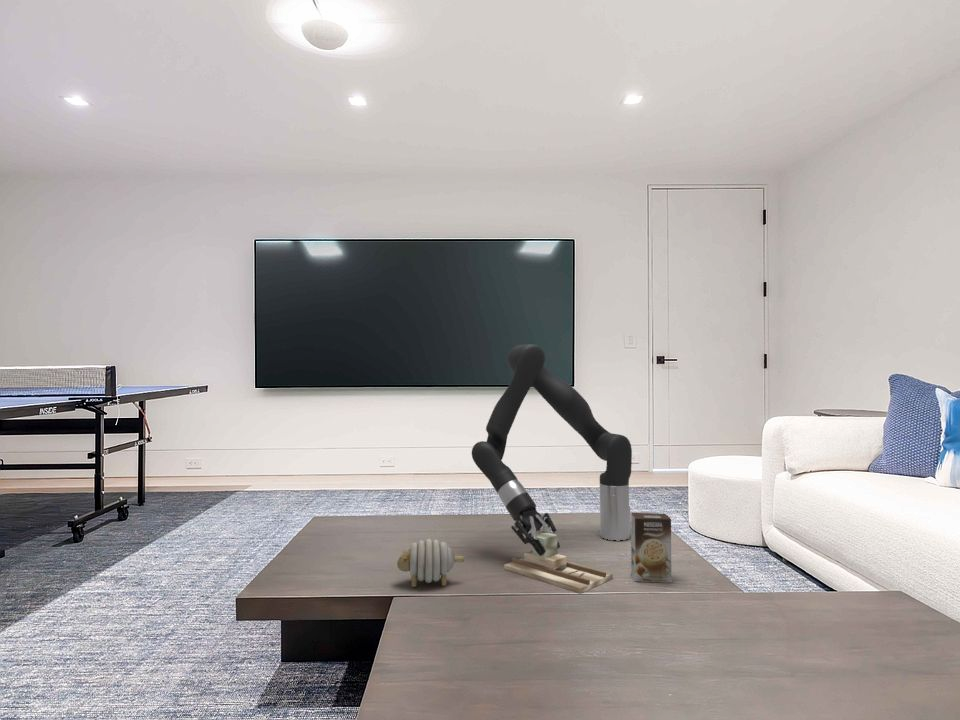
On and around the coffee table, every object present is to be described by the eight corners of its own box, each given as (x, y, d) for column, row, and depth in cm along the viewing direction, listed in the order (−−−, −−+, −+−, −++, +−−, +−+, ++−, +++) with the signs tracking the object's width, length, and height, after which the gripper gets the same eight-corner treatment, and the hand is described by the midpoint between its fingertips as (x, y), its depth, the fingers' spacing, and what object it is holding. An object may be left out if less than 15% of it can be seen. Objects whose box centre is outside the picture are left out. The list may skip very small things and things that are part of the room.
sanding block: (537, 559, 159) (537, 530, 159) (566, 567, 152) (566, 537, 152) (524, 563, 155) (524, 534, 155) (553, 572, 148) (553, 541, 148)
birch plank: (537, 557, 164) (537, 549, 164) (612, 578, 146) (612, 569, 146) (504, 569, 154) (504, 560, 154) (580, 593, 137) (580, 584, 137)
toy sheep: (396, 578, 148) (396, 535, 148) (461, 574, 151) (460, 532, 151) (397, 593, 138) (397, 547, 138) (466, 588, 140) (466, 543, 141)
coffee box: (635, 582, 144) (634, 518, 144) (631, 573, 150) (629, 512, 150) (672, 583, 143) (671, 518, 143) (666, 574, 149) (665, 512, 150)
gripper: (506, 495, 154) (541, 549, 145) (539, 488, 164) (574, 537, 155) (492, 512, 158) (525, 565, 149) (526, 503, 168) (559, 553, 159)
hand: (550, 551), depth 152 cm, fingers closed on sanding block, 5 cm apart
